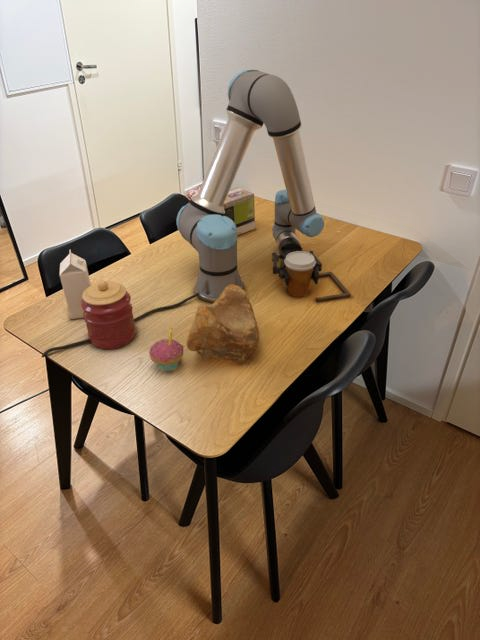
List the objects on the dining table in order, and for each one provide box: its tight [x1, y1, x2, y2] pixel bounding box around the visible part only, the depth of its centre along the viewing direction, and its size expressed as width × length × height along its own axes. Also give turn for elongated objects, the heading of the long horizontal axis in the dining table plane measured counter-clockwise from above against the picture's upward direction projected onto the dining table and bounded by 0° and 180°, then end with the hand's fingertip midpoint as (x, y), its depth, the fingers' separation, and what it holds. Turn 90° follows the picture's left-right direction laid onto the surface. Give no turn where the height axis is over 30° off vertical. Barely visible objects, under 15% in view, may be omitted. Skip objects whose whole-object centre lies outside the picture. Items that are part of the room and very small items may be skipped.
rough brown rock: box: [186, 284, 260, 364], centre depth 127 cm, size 23×17×15 cm
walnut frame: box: [311, 271, 352, 303], centre depth 157 cm, size 11×15×1 cm
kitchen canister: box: [81, 279, 137, 350], centre depth 132 cm, size 13×13×18 cm
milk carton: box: [59, 249, 92, 320], centre depth 142 cm, size 7×7×19 cm
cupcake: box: [148, 327, 184, 372], centre depth 123 cm, size 9×8×12 cm
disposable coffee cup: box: [284, 251, 316, 298], centre depth 152 cm, size 10×10×12 cm
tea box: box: [223, 187, 256, 236], centre depth 188 cm, size 15×10×15 cm
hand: (302, 281), depth 147 cm, fingers closed on disposable coffee cup, 8 cm apart
